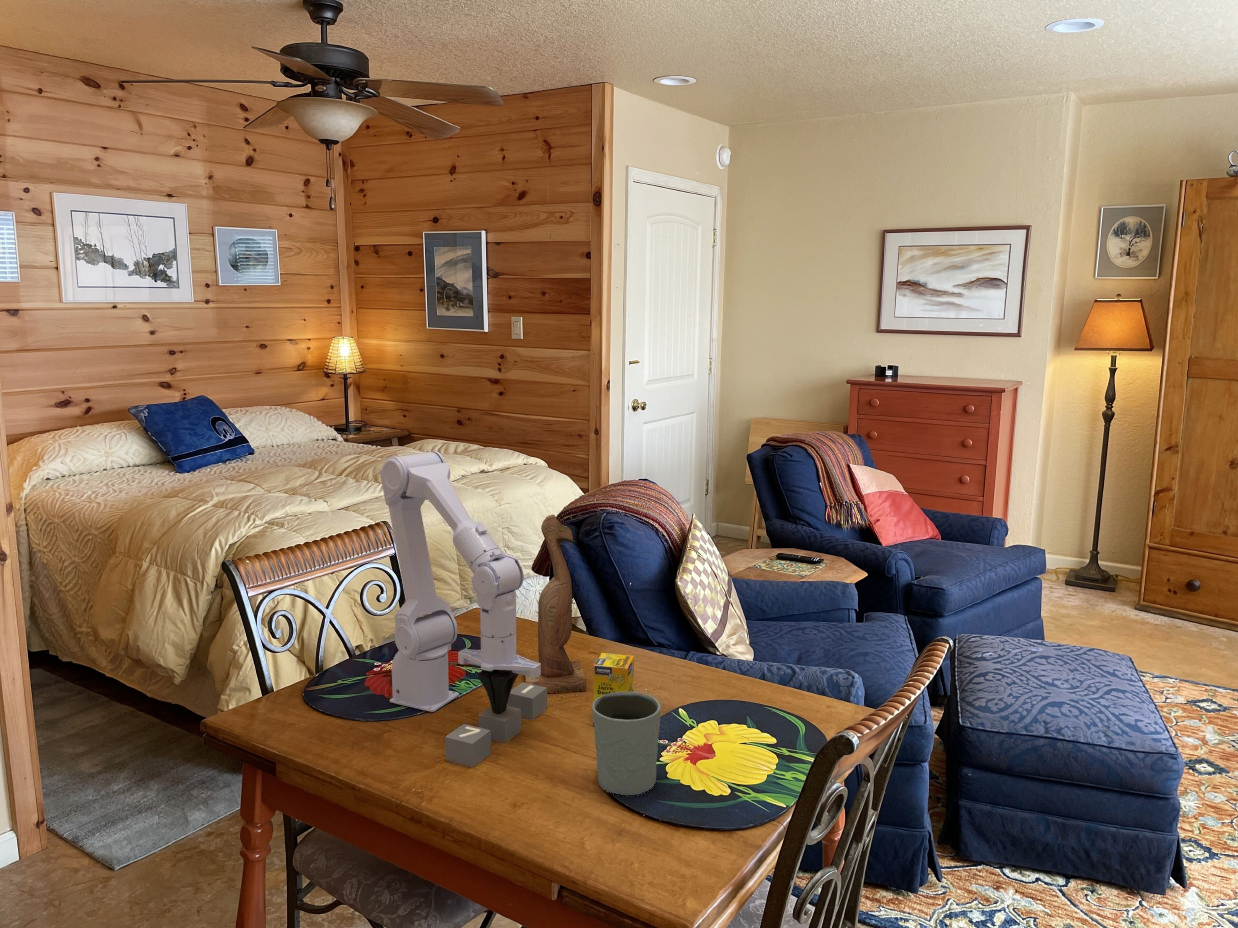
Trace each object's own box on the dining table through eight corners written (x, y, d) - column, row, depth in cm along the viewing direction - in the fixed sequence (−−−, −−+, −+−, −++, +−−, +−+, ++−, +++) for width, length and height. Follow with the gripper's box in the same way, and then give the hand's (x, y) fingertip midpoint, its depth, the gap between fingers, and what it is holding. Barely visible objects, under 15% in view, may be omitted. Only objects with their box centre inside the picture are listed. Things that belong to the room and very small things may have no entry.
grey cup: (637, 806, 129) (638, 726, 127) (577, 785, 134) (578, 708, 132) (671, 775, 137) (673, 700, 135) (614, 757, 143) (615, 684, 141)
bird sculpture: (590, 693, 167) (596, 521, 162) (526, 696, 164) (530, 522, 159) (578, 670, 178) (584, 508, 173) (518, 673, 175) (522, 509, 170)
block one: (507, 714, 158) (507, 691, 157) (522, 703, 162) (522, 681, 161) (532, 720, 155) (532, 697, 155) (547, 709, 160) (547, 686, 159)
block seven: (445, 760, 141) (445, 735, 141) (464, 747, 146) (464, 722, 145) (472, 768, 139) (472, 742, 139) (491, 753, 144) (490, 728, 143)
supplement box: (627, 730, 152) (628, 668, 150) (592, 727, 153) (592, 665, 151) (634, 715, 157) (634, 654, 156) (599, 711, 159) (600, 651, 157)
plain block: (478, 738, 149) (478, 715, 148) (495, 725, 154) (494, 703, 153) (505, 744, 147) (504, 721, 146) (521, 731, 152) (520, 708, 151)
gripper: (446, 632, 147) (448, 712, 149) (524, 647, 141) (525, 729, 143) (471, 619, 153) (472, 695, 156) (547, 632, 147) (547, 712, 150)
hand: (499, 711), depth 150 cm, fingers closed, pressing on plain block
